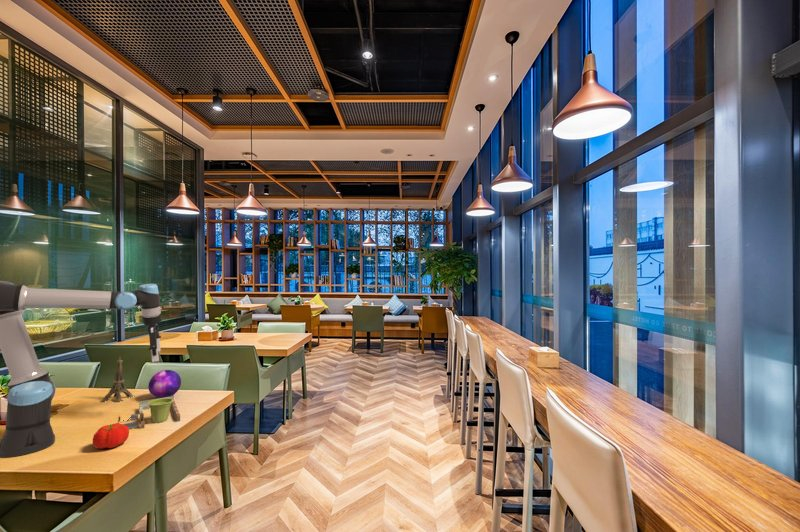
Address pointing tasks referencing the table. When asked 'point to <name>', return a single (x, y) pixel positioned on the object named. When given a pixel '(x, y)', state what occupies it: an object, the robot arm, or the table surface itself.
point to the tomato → (110, 436)
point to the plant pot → (160, 409)
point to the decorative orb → (164, 384)
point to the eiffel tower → (118, 385)
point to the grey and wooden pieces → (146, 406)
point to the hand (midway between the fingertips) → (156, 356)
